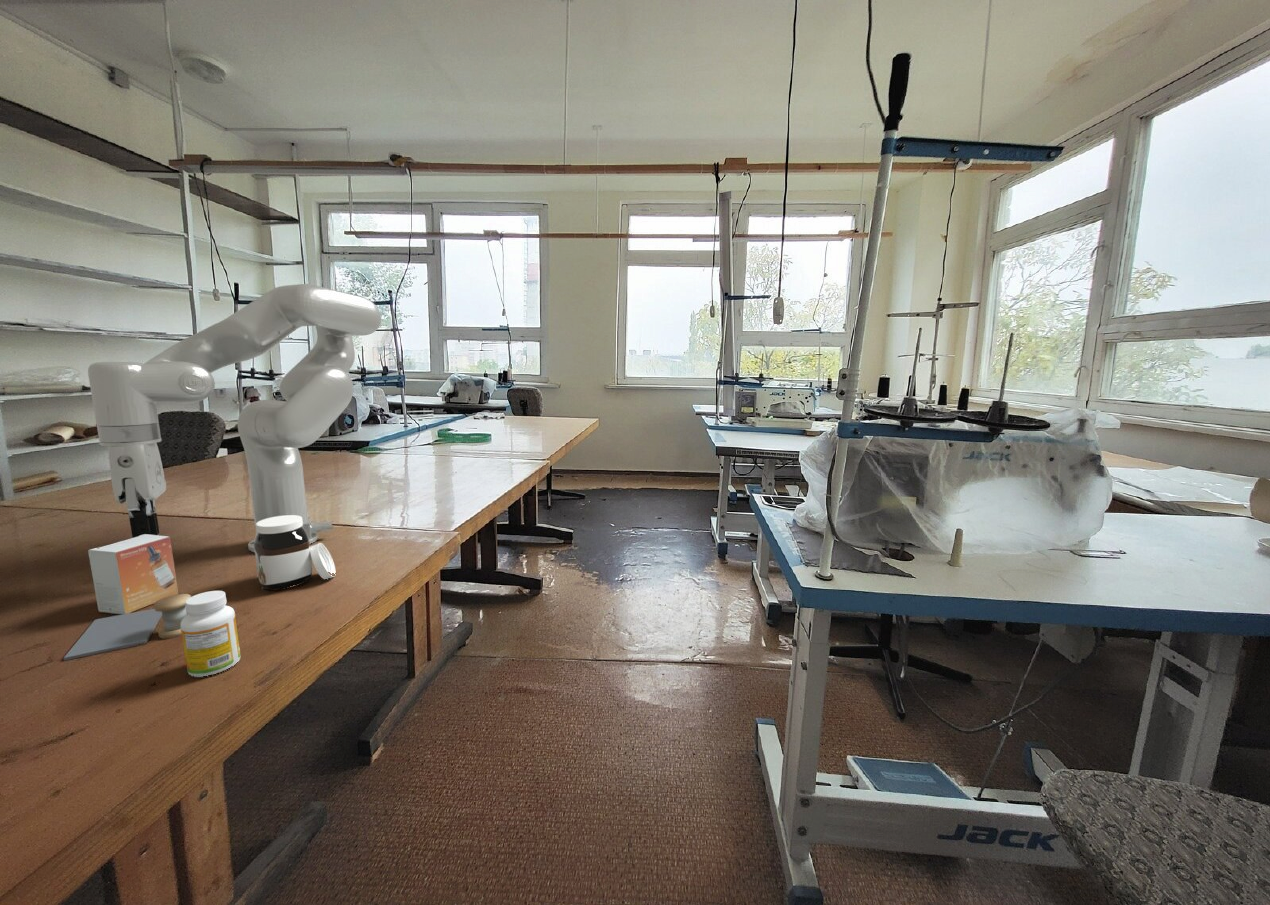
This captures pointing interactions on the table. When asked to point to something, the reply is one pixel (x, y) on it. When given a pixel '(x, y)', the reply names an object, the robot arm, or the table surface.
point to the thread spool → (171, 614)
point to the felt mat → (115, 633)
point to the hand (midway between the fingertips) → (146, 536)
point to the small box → (133, 573)
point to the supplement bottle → (209, 634)
